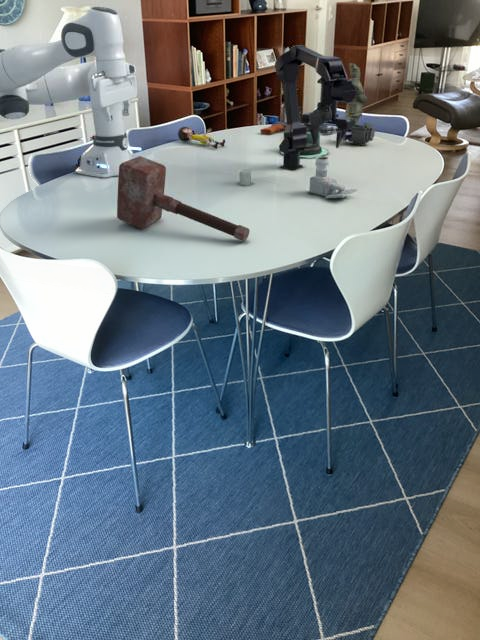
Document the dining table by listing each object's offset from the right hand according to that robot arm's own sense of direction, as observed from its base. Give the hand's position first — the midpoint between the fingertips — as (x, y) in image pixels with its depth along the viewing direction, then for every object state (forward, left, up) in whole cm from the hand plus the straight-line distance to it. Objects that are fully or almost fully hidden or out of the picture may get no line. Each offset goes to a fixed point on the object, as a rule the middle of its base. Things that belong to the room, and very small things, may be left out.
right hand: (326, 146), depth 194 cm
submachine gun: (-54, -53, -12) cm, 77 cm away
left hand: (+59, -38, +14) cm, 72 cm away
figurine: (-12, -76, -12) cm, 77 cm away
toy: (-54, -20, -12) cm, 59 cm away
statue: (-77, -35, -12) cm, 85 cm away
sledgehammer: (+67, -3, -12) cm, 68 cm away
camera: (+14, +12, -12) cm, 22 cm away
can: (+21, -19, -12) cm, 31 cm away
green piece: (-28, -29, -12) cm, 42 cm away
